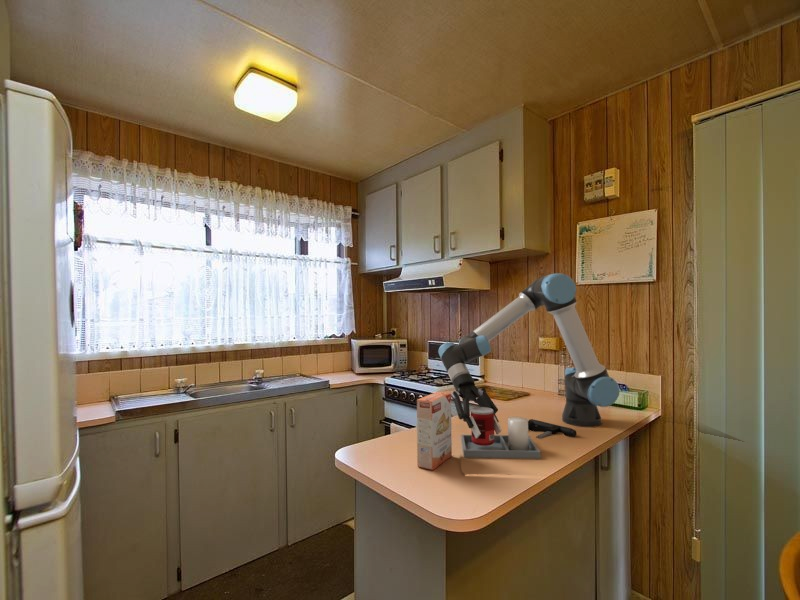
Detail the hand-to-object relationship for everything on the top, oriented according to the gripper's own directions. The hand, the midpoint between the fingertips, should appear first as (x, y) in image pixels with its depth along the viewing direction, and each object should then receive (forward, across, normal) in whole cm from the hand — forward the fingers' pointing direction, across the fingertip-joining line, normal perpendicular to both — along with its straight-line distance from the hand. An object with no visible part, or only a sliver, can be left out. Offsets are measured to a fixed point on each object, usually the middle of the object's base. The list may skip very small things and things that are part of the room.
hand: (488, 434), depth 127 cm
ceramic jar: (+6, -10, -2) cm, 12 cm away
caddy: (+4, -4, -5) cm, 8 cm away
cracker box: (+3, +19, -7) cm, 20 cm away
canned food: (0, 0, -5) cm, 5 cm away
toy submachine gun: (-1, -32, -11) cm, 34 cm away
